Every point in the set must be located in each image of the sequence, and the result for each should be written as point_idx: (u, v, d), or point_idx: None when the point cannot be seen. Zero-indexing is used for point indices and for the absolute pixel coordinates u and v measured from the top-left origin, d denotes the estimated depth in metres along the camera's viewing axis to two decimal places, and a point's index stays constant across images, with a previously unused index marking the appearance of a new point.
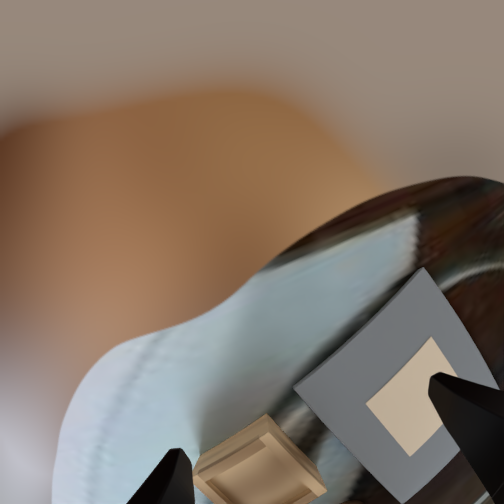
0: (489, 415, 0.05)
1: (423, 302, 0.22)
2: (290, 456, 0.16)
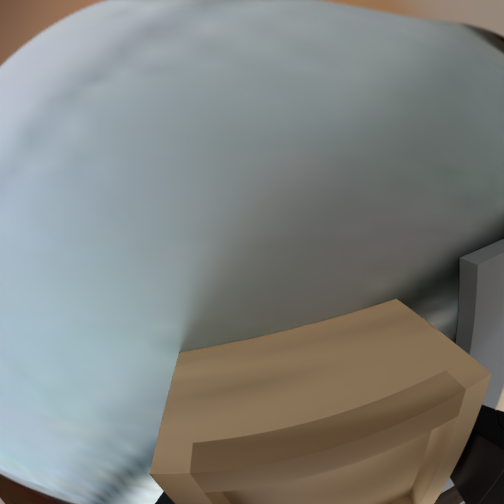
0: None
1: None
2: (463, 444, 0.05)
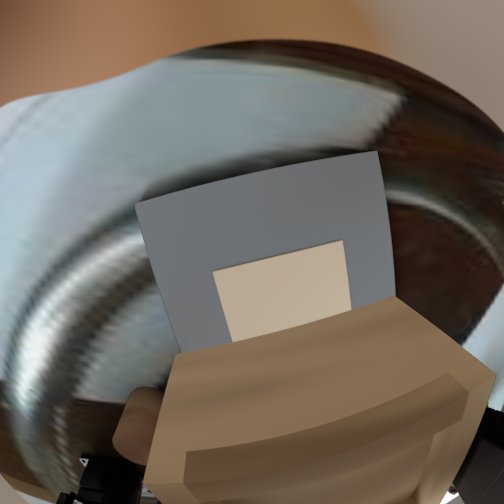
0: None
1: (354, 190, 0.17)
2: (468, 446, 0.05)
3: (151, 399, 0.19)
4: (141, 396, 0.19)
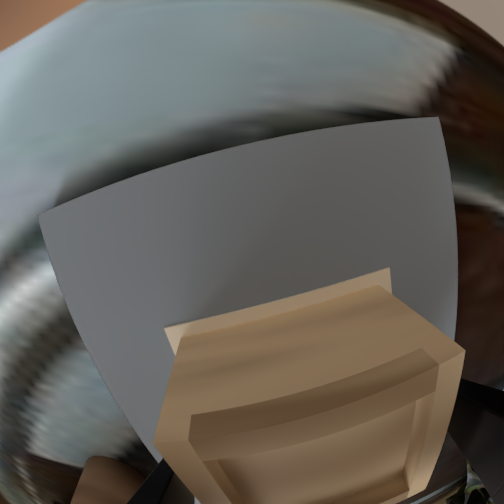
0: (489, 415, 0.05)
1: (409, 180, 0.09)
2: (447, 421, 0.06)
3: (109, 476, 0.11)
4: (96, 470, 0.11)
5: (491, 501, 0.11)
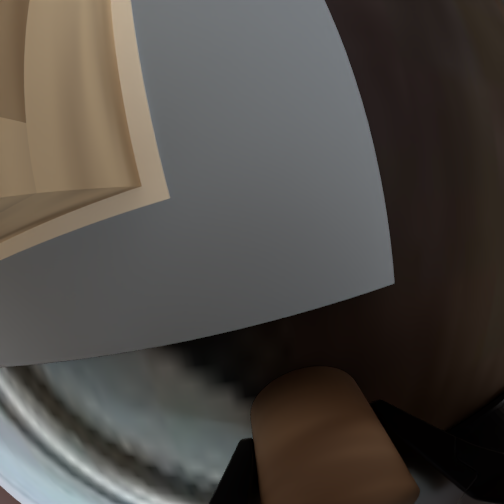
0: (420, 458, 0.05)
1: None
2: None
3: (256, 433, 0.08)
4: None
5: None
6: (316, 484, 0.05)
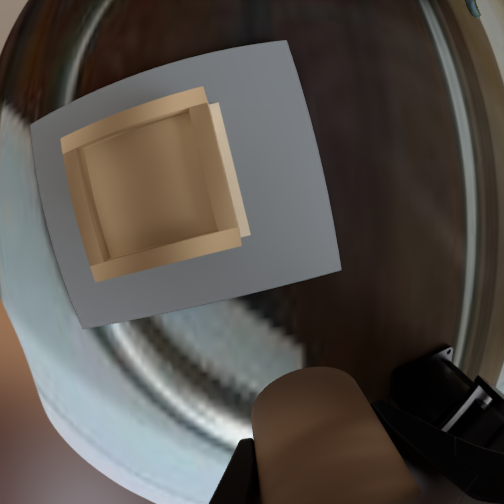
0: (420, 458, 0.05)
1: (56, 139, 0.15)
2: (105, 119, 0.11)
3: (256, 433, 0.08)
4: None
5: None
6: (316, 484, 0.05)
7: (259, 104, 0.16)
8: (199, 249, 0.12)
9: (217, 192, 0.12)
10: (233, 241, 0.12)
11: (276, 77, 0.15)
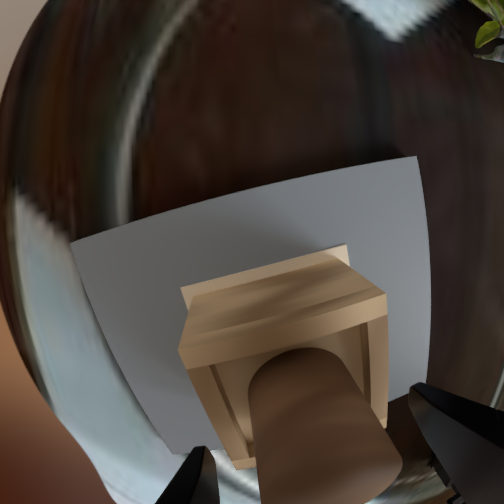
0: (467, 430, 0.05)
1: (118, 273, 0.13)
2: (254, 334, 0.09)
3: (252, 407, 0.09)
4: None
5: None
6: (305, 446, 0.06)
7: (387, 245, 0.14)
8: None
9: (378, 397, 0.10)
10: None
11: (405, 209, 0.14)
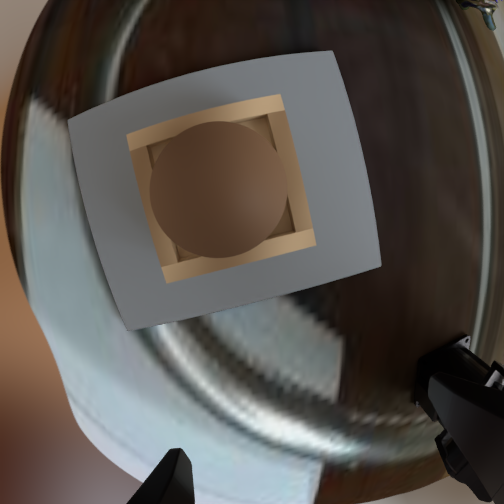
0: (489, 415, 0.05)
1: (99, 136, 0.16)
2: (180, 118, 0.12)
3: None
4: None
5: None
6: None
7: (311, 111, 0.16)
8: (277, 248, 0.13)
9: (295, 195, 0.13)
10: (309, 241, 0.13)
11: (325, 86, 0.16)
